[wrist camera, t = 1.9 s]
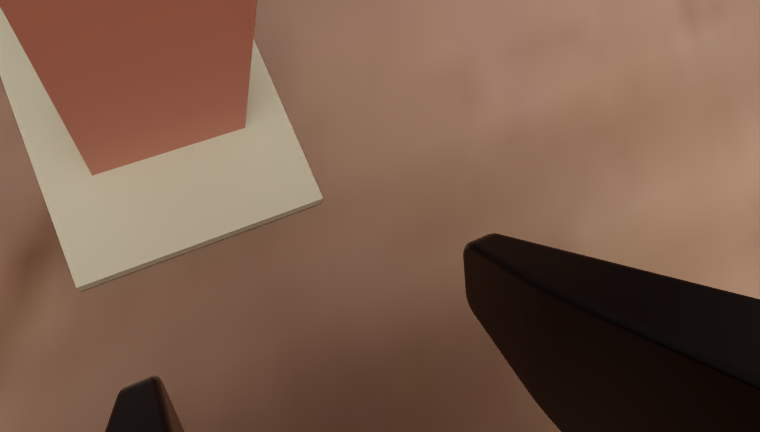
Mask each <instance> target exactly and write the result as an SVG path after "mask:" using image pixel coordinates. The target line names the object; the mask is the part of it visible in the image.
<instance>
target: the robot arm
mask: <svg viewBox="0 0 760 432" xmlns="http://www.w3.org/2000/svg"><path fill="white" fill-rule="evenodd" d="M463 259H464V273H465V287H466V297H467V300H468V303H469V306H470V308H471V310H472V311H473V313H474V315H475V316H476V317H477V319H478V320H479V322H480V323H481V325H482V326H483V327H484V329H485V330H486V332H487V333H488V335H489V336H490V337H491V339H492V340H493V342H494V343H495V345H496V346H497V348H498V349H499V350H500V352H501V353H502V355H503V356H504V358H505V359H506V360H507V362H508V363H509V365H510V366H511V368H512V369H513V370H514V372H515V373H516V375H517V376H518V378H519V379H520V381H521V382H522V383H523V385H524V386H525V388H526V389H527V390H528V392H529V393H530V394H531V396H532V397H533V399H534V400H535V401H536V403H537V404H538V405H539V406H540V407H541V409H542V410H543V411H544V412H545V413H546V415H547V416H548V417H549V418H550V419H551V420H552V422H553V423H554V424H555V425H556V426H557V427H558V428H559V430H560V431H561V432H760V299H756V298H752V297H748V296H744V295H740V294H736V293H732V292H728V291H724V290H720V289H716V288H712V287H708V286H704V285H700V284H696V283H692V282H688V281H684V280H680V279H676V278H672V277H668V276H664V275H660V274H656V273H652V272H648V271H644V270H640V269H636V268H632V267H628V266H624V265H620V264H616V263H612V262H608V261H604V260H600V259H596V258H592V257H588V256H584V255H580V254H576V253H572V252H568V251H564V250H560V249H556V248H552V247H548V246H544V245H540V244H536V243H532V242H528V241H524V240H520V239H516V238H512V237H508V236H504V235H500V234H495V233H494V234H488V235H486V236H483V237H481V238H479V239H476V240H474V241H472V242H469V243H468V244H467V245H466V246H465V248H464V252H463ZM105 432H184V430H183V428H182V425H181V423H180V421H179V418H178V416H177V414H176V411H175V409H174V407H173V405H172V402H171V400H170V398H169V396H168V393H167V391H166V389H165V387H164V384H163V382H162V381H161V379H160V378H159V377H157V376H151V377H149V378H146V379H144V380H141V381H139V382H137V383H134V384H132V385H130V386H127V387H125V388H123V389H122V390H121V391H120V392H119V394H118V396H117V399H116V402H115V405H114V408H113V410H112V413H111V416H110V419H109V422H108V425H107V428H106V431H105Z"/></svg>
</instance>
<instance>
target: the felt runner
mask: <svg viewBox="0 0 760 432" xmlns="http://www.w3.org/2000/svg"><path fill="white" fill-rule="evenodd" d="M0 76H1V79H2V82H3V85H4V87H5V90H6V93H7V96H8V99H9V101H10V104H11V107H12V110H13V113H14V115H15V118H16V121H17V124H18V126H19V129H20V132H21V135H22V138H23V140H24V143H25V146H26V149H27V152H28V154H29V157H30V160H31V163H32V166H33V168H34V171H35V174H36V177H37V180H38V182H39V185H40V188H41V191H42V194H43V196H44V199H45V202H46V205H47V207H48V210H49V213H50V216H51V219H52V221H53V224H54V227H55V230H56V233H57V235H58V238H59V241H60V244H61V247H62V249H63V252H64V255H65V258H66V261H67V263H68V266H69V269H70V272H71V275H72V277H73V280H74V283H75V286H76V288H77V289H78V290H79V291H83V290H85V289H88V288H91V287H94V286H96V285H99V284H102V283H104V282H107V281H110V280H113V279H115V278H118V277H121V276H124V275H126V274H129V273H132V272H135V271H137V270H140V269H143V268H146V267H148V266H151V265H154V264H156V263H159V262H162V261H165V260H167V259H170V258H173V257H176V256H178V255H181V254H184V253H187V252H189V251H192V250H195V249H197V248H200V247H203V246H206V245H208V244H211V243H214V242H217V241H219V240H222V239H225V238H228V237H230V236H233V235H236V234H239V233H241V232H244V231H247V230H249V229H252V228H255V227H258V226H260V225H263V224H266V223H269V222H271V221H274V220H277V219H280V218H282V217H285V216H288V215H290V214H293V213H296V212H299V211H301V210H304V209H307V208H310V207H312V206H315V205H318V204H321V202H322V200H323V197H322V195H321V192H320V190H319V188H318V185H317V183H316V181H315V178H314V176H313V174H312V172H311V169H310V167H309V165H308V162H307V160H306V158H305V156H304V153H303V151H302V149H301V146H300V144H299V142H298V139H297V137H296V135H295V133H294V130H293V128H292V126H291V123H290V121H289V119H288V117H287V114H286V112H285V110H284V107H283V105H282V103H281V101H280V98H279V96H278V94H277V91H276V89H275V87H274V84H273V82H272V80H271V78H270V75H269V73H268V71H267V68H266V66H265V64H264V62H263V59H262V57H261V55H260V52H259V50H258V48H257V45H256V43H255V41H254V39H253V48H252V59H251V70H250V80H249V91H248V102H247V112H246V123H245V128H243V129H240V130H237V131H233V132H230V133H227V134H224V135H221V136H217V137H214V138H211V139H208V140H205V141H201V142H198V143H195V144H192V145H189V146H185V147H182V148H179V149H176V150H173V151H169V152H166V153H163V154H160V155H157V156H153V157H150V158H147V159H144V160H141V161H137V162H134V163H131V164H128V165H125V166H121V167H118V168H115V169H112V170H109V171H105V172H102V173H99V174H96V175H93V176H92V174H91V172H90V171H89V169H88V167H87V165H86V163H85V161H84V160H83V158H82V156H81V154H80V152H79V150H78V149H77V147H76V145H75V143H74V141H73V139H72V138H71V136H70V134H69V132H68V130H67V128H66V127H65V125H64V123H63V121H62V119H61V117H60V115H59V114H58V112H57V110H56V108H55V106H54V104H53V103H52V101H51V99H50V97H49V95H48V93H47V92H46V90H45V88H44V86H43V84H42V82H41V81H40V79H39V77H38V75H37V73H36V71H35V70H34V68H33V66H32V64H31V62H30V60H29V59H28V57H27V55H26V53H25V51H24V49H23V48H22V46H21V44H20V42H19V40H18V38H17V37H16V35H15V33H14V31H13V29H12V27H11V26H10V24H9V22H8V20H7V18H6V16H5V15H4V13H3V11H2V9H1V7H0Z"/></svg>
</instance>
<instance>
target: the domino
mask: <svg viewBox="0 0 760 432" xmlns="http://www.w3.org/2000/svg"><path fill="white" fill-rule="evenodd" d="M256 6H257V0H0V7H1V9H2V11H3V13H4V15H5V16H6V18H7V20H8V22H9V24H10V26H11V27H12V29H13V31H14V33H15V35H16V37H17V38H18V40H19V42H20V44H21V46H22V48H23V49H24V51H25V53H26V55H27V57H28V59H29V60H30V62H31V64H32V66H33V68H34V70H35V71H36V73H37V75H38V77H39V79H40V81H41V82H42V84H43V86H44V88H45V90H46V92H47V93H48V95H49V97H50V99H51V101H52V103H53V104H54V106H55V108H56V110H57V112H58V114H59V115H60V117H61V119H62V121H63V123H64V125H65V127H66V128H67V130H68V132H69V134H70V136H71V138H72V139H73V141H74V143H75V145H76V147H77V149H78V150H79V152H80V154H81V156H82V158H83V160H84V161H85V163H86V165H87V167H88V169H89V171H90V172H91V174H92V176H93V175H96V174H99V173H102V172H105V171H109V170H112V169H115V168H118V167H121V166H125V165H128V164H131V163H134V162H137V161H141V160H144V159H147V158H150V157H153V156H157V155H160V154H163V153H166V152H169V151H173V150H176V149H179V148H182V147H185V146H189V145H192V144H195V143H198V142H201V141H205V140H208V139H211V138H214V137H217V136H221V135H224V134H227V133H230V132H233V131H237V130H240V129H243V128H245V123H246V112H247V102H248V91H249V80H250V70H251V59H252V48H253V38H254V27H255V16H256Z"/></svg>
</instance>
